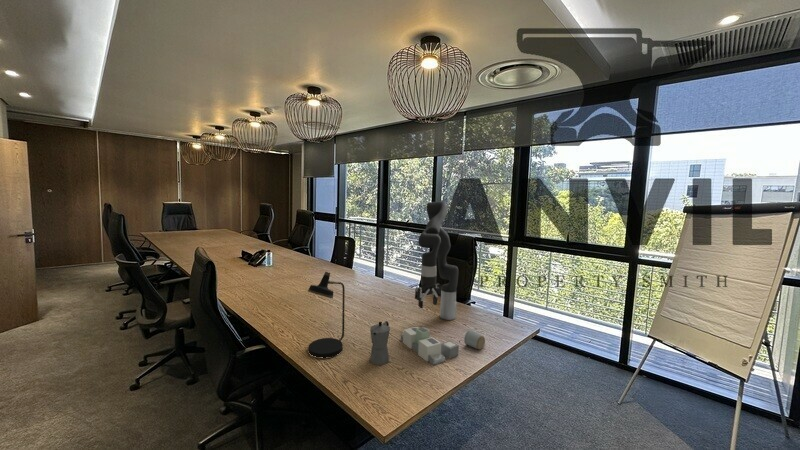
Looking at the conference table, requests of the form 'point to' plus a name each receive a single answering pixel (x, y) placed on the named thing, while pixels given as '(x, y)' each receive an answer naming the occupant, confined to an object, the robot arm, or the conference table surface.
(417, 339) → the module
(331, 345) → the lamp
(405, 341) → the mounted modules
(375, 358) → the coffeepot
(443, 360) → the rail
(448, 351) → the block
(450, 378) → the conference table surface
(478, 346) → the ceramic mug
